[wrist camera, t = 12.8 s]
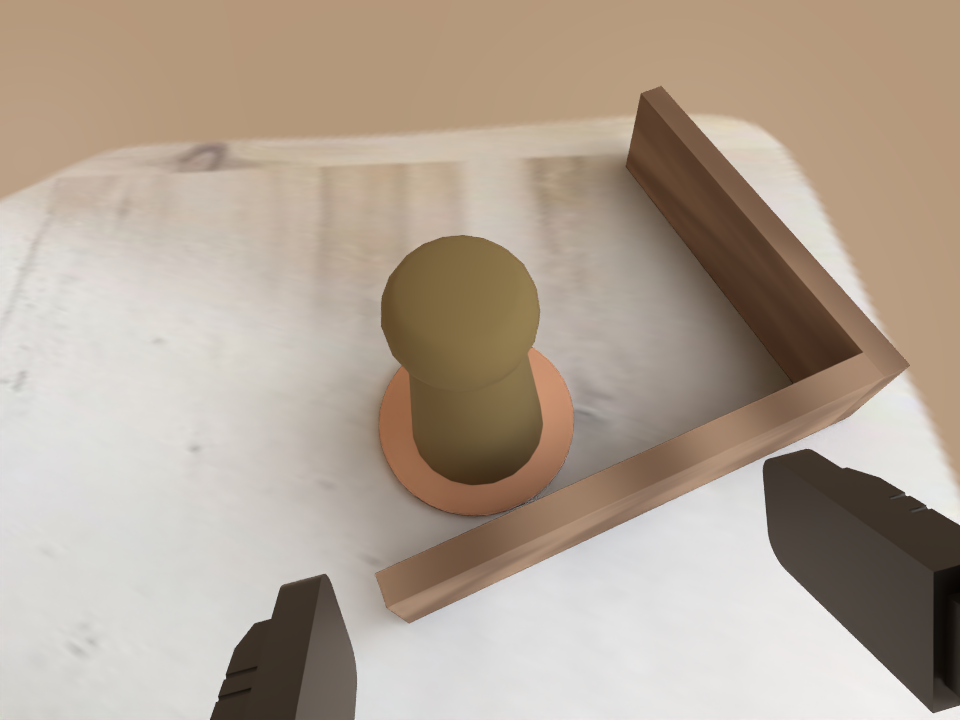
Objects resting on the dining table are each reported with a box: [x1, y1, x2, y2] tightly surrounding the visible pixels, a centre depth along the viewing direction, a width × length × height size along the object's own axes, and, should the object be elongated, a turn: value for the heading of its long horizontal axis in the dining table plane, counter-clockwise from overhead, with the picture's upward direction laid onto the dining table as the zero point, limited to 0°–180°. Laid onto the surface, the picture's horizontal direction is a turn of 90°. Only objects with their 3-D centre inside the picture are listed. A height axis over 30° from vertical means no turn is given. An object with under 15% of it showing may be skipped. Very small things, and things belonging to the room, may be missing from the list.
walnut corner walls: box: [375, 86, 910, 623], centre depth 29 cm, size 22×18×5 cm
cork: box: [381, 235, 543, 485], centre depth 24 cm, size 6×6×11 cm
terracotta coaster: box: [379, 347, 574, 516], centre depth 29 cm, size 9×9×1 cm
